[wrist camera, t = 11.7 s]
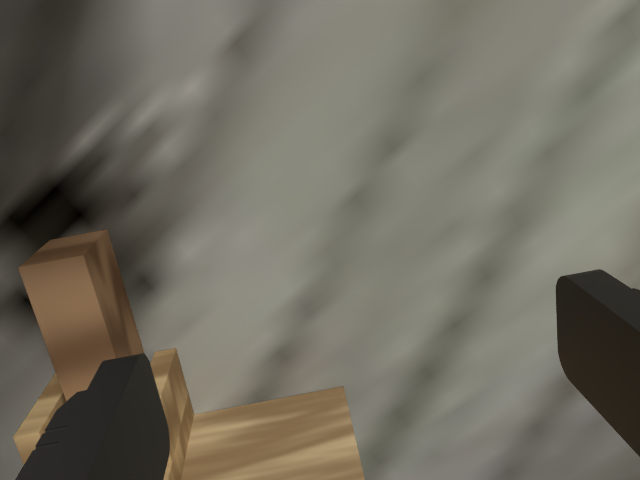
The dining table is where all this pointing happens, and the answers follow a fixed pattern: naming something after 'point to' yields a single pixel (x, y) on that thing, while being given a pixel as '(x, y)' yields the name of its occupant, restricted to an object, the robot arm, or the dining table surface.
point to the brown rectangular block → (80, 306)
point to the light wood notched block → (235, 433)
